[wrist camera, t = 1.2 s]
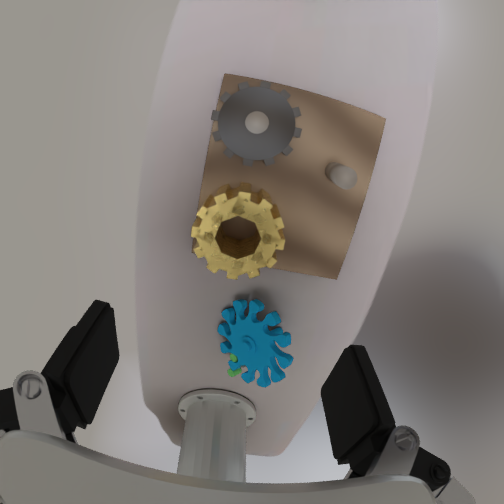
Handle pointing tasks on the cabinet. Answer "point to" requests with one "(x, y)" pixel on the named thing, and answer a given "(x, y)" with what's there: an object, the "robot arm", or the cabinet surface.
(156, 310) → the cabinet surface
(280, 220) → the brass gear
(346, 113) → the gear board
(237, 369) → the gear
